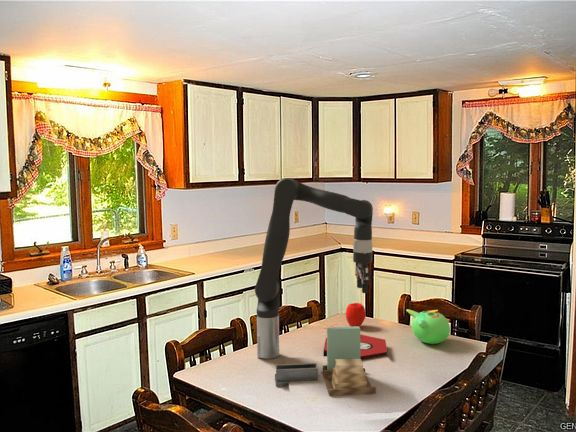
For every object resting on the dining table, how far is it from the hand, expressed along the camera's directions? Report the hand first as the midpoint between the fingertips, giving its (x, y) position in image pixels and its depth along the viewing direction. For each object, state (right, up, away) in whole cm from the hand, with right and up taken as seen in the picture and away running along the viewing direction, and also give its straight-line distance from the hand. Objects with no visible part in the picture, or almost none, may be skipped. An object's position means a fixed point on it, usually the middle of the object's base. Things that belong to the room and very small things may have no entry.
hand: (362, 290), depth 212 cm
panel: (-9, -29, -15) cm, 34 cm away
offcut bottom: (-8, -30, -26) cm, 41 cm away
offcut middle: (-8, -27, -26) cm, 39 cm away
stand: (-27, -31, -16) cm, 44 cm away
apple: (+3, -25, +48) cm, 54 cm away
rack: (-9, -32, -22) cm, 39 cm away
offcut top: (-8, -24, -26) cm, 37 cm away
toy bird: (+33, -27, +24) cm, 49 cm away
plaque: (-1, -29, +13) cm, 32 cm away
